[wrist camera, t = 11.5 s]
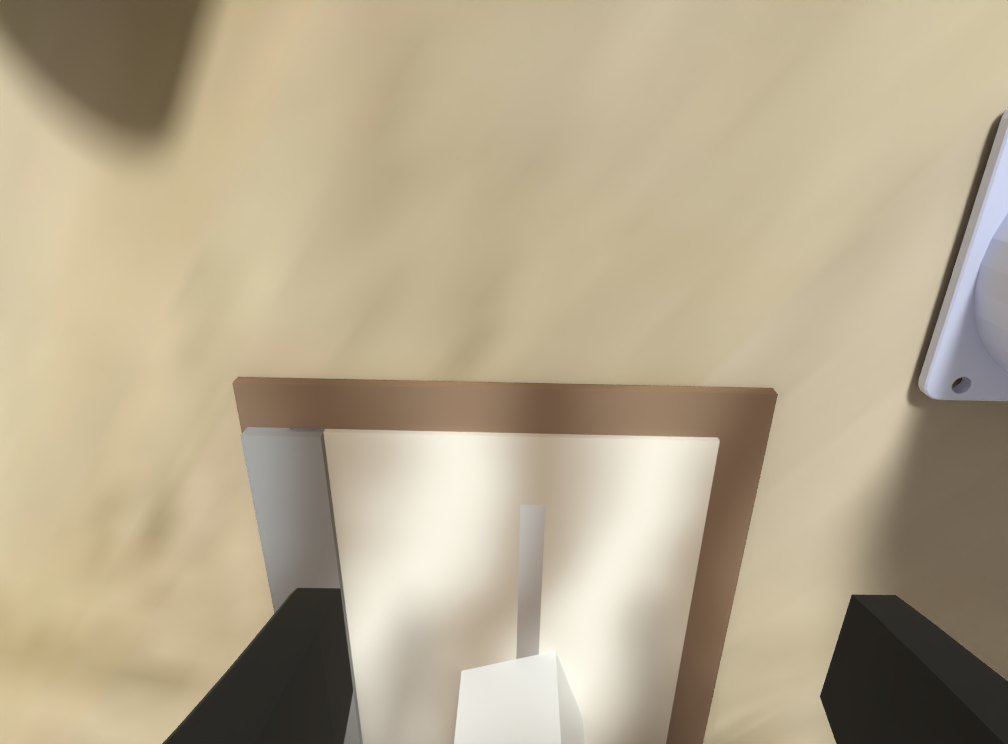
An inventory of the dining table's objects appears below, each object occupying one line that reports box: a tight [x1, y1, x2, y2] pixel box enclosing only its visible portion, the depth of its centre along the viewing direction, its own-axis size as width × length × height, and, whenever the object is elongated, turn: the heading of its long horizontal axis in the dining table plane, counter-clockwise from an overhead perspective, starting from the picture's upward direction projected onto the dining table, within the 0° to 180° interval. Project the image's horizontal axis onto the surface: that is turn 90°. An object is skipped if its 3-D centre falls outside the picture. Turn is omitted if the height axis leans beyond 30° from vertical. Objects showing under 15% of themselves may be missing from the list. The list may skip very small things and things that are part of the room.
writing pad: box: [233, 377, 778, 744], centre depth 22 cm, size 16×18×1 cm
